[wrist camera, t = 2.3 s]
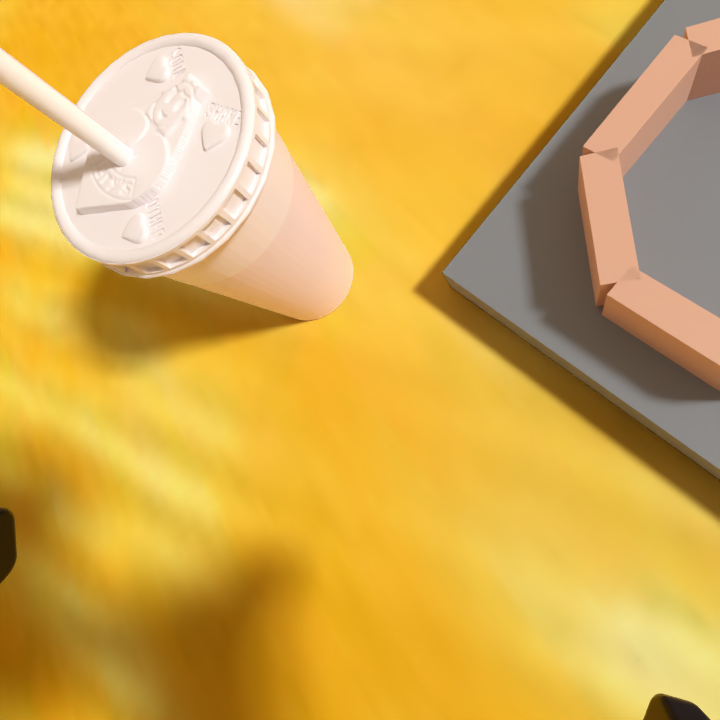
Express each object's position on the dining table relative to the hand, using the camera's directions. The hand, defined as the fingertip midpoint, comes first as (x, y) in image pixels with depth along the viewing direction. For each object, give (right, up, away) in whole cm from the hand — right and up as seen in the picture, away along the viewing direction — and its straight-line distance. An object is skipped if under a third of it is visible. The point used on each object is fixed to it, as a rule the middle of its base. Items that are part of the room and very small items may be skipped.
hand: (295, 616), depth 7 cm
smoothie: (-1, +7, +15) cm, 17 cm away
